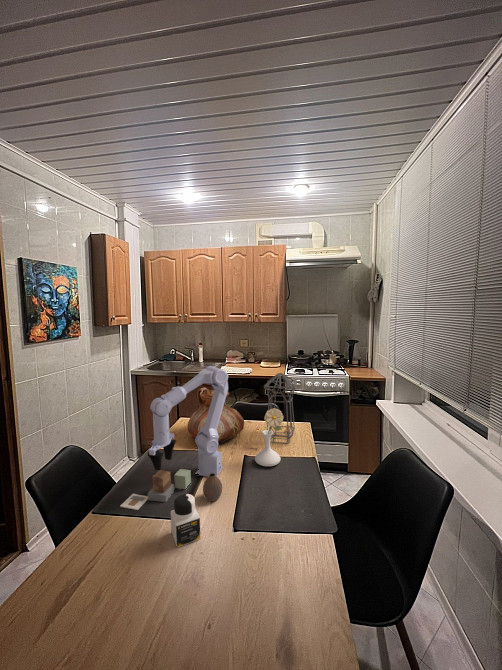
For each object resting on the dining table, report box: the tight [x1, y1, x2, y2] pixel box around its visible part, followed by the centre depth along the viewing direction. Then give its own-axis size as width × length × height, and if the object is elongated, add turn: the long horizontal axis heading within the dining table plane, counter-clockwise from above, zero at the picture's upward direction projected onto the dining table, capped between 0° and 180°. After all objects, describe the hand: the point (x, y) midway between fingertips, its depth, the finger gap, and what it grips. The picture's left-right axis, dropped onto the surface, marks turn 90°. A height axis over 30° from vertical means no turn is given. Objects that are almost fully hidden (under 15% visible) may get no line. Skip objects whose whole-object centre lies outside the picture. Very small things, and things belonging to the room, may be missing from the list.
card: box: [119, 493, 149, 511], centre depth 107 cm, size 7×7×1 cm
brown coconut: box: [202, 473, 223, 502], centre depth 109 cm, size 7×7×9 cm
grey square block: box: [147, 483, 175, 503], centre depth 111 cm, size 7×7×3 cm
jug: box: [187, 387, 245, 444], centre depth 160 cm, size 30×30×25 cm
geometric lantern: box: [263, 372, 297, 444], centre depth 155 cm, size 16×16×35 cm
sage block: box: [173, 468, 192, 490], centre depth 116 cm, size 4×4×6 cm
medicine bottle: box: [170, 493, 201, 548], centre depth 90 cm, size 7×7×12 cm
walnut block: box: [152, 469, 172, 493], centre depth 111 cm, size 4×4×6 cm
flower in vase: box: [254, 407, 284, 467], centre depth 132 cm, size 13×11×25 cm
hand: (163, 464), depth 115 cm, fingers open, 7 cm apart
